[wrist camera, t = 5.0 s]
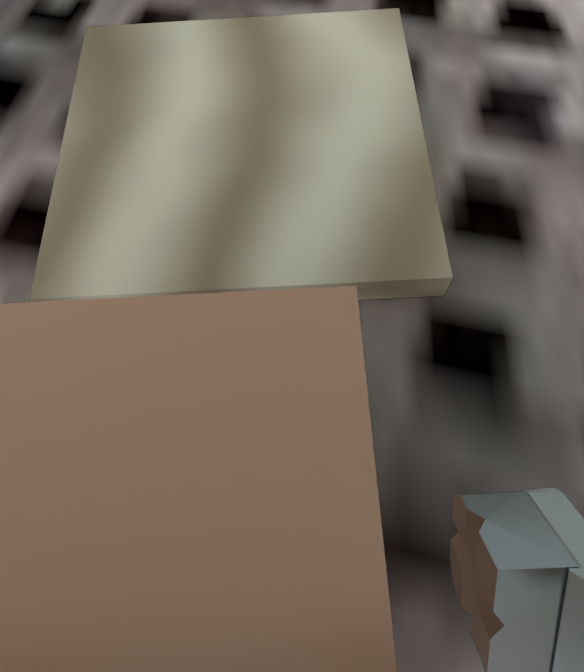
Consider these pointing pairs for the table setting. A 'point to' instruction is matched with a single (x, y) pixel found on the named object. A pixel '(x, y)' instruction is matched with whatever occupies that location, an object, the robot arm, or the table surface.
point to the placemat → (244, 163)
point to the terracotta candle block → (190, 486)
